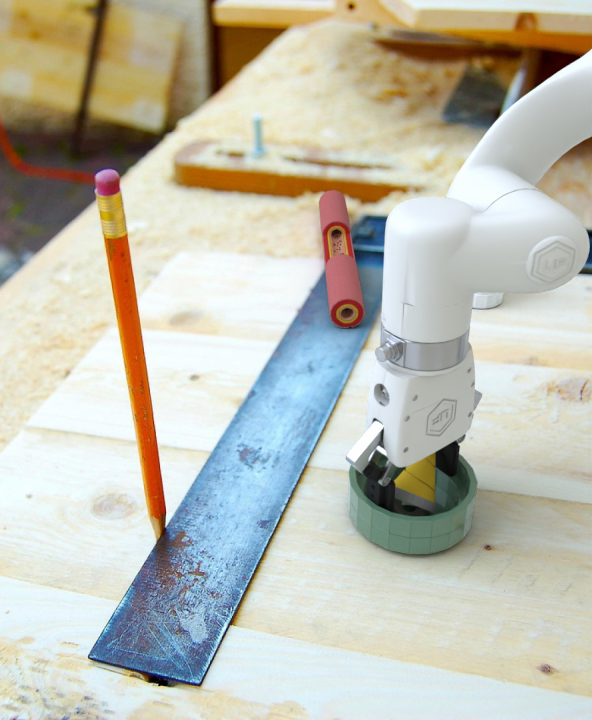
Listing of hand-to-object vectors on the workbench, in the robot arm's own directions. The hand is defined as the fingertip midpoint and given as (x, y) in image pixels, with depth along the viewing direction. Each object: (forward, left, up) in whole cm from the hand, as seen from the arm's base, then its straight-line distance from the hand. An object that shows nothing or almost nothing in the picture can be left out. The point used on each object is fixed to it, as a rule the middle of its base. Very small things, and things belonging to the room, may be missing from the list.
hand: (412, 486), depth 77 cm
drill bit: (0, 0, -3) cm, 3 cm away
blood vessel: (-32, -49, -4) cm, 58 cm away
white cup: (-40, -26, -4) cm, 48 cm away
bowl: (0, 0, -4) cm, 4 cm away
